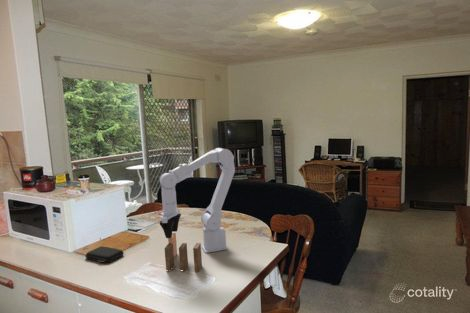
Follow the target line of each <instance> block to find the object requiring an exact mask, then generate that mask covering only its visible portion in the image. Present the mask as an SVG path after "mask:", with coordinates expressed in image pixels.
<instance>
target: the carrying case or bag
mask: <svg viewBox="0 0 470 313" xmlns="http://www.w3.org/2000/svg"><path fill="white" fill-rule="evenodd" d="M124 254H125V252H124V250H122V249H119V248H115V247H108V246H99V247H96V248H94V249H92V250H90V251H88V252H86V254H85V259H88V260H92V261H95V262H98V263H105V264H109V263H111V262H114V261H116V260H118V259H120V258H122V257H123V256H124Z"/></svg>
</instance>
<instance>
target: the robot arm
mask: <svg viewBox="0 0 470 313" xmlns="http://www.w3.org/2000/svg"><path fill="white" fill-rule="evenodd" d="M210 163H214V164H216V163H217V165H218V166H219V168H220V170H221V174H220V175H219V179H218V181H217V185H216V188H215V189H214V192H213V195H212V198H211V200H210V201H211V202H210V204H209V205H208V206H207V207H206V209H205V211H204V212H203V213H202V215H201V218H200V219H201V223H202V224H203V228H202V234H203V236H202V237H203V238H202V239H203V245H202V244H201V249H203V251H204V253H205V254H208V253H212V252H218V251H225V250H228V248H227V236H226V230H225V228H224V226H221V224H222V222H221V221H222V216H223V215H222V208H223V205H224V203H225V199H226V197H227V195H228V192H229V189H230V187H231V184H232V180H233V177H234V175H235V172H236V168H235V167H236V166H235V156H234V154H233V152H232V151H231V150H230V149H228V148H222V147H216V148H214V149H212V150H209V151H207V152H206V153H204V154H203V155H202V156H200V157H198V158H196V159H195V160H193V161H191V162H190V163H189V164H188V163H179V164H178V166H177V167H174V168H173V169H170V170H168V172H164V173H162V174H161V175H160V177H159V180H158V181H159V183H160V185H161V188H160V189H161V202H162V204H161V206H162V212H160V216H162V217H161V220H160V221H159V225H160V227H161V228H162V230H163V233H164V235H165V238H166V239H168V238H171V237H172V233H173V232H174V233H176V232H178V229H179V222H180V219H181V216H182V214H181V213H180V212H179V208H178V205H177V204H178V203H177V191H176V186H177V184H178V183H181V182H182V181H184V180H186V179H187V178H190V176H192V174H193V172H194V171H196V170H197V169H199V168H201V167H203V166H205V165H207V164H210Z"/></svg>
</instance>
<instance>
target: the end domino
mask: <svg viewBox="0 0 470 313" xmlns="http://www.w3.org/2000/svg"><path fill="white" fill-rule="evenodd" d="M176 234H177V233H176V232H174V233H173V232H172V237H171V238H167V240H168V242H167V244H169V243H173V252H174V258H176V256H177V255H178V249H177V248H178V247H177V235H176Z"/></svg>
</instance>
